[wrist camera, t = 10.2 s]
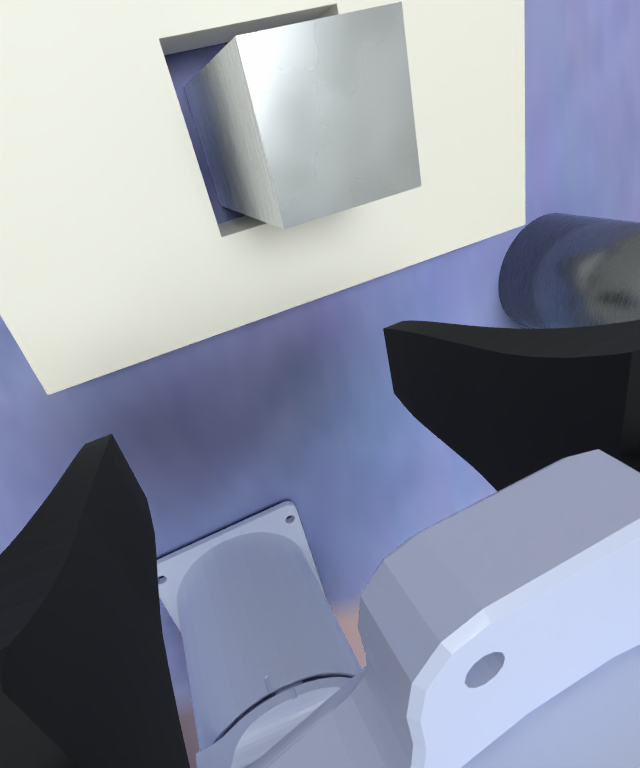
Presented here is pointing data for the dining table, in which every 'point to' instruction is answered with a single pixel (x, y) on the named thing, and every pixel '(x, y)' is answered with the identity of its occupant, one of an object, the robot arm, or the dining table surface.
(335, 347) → the dining table surface
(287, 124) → the square steel peg
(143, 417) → the dining table surface
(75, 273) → the cream socket block
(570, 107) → the dining table surface
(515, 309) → the round dark peg
